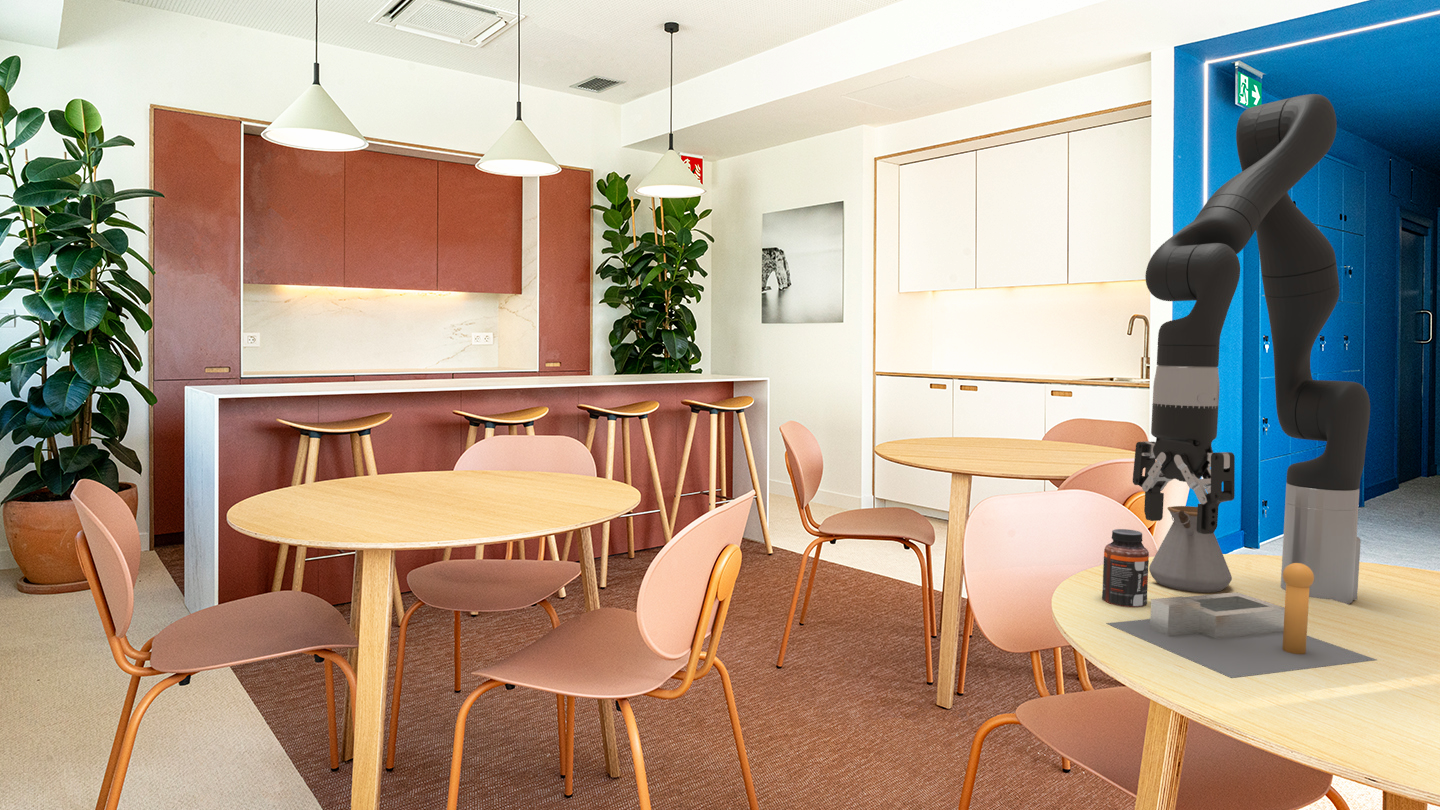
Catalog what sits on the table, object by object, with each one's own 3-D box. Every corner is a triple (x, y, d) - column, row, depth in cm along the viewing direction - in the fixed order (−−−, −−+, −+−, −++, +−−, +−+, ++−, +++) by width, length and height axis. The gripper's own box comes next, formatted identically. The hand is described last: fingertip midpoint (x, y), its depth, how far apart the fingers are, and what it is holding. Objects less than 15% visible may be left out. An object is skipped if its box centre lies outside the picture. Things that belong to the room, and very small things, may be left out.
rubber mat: (1235, 617, 124) (1235, 610, 124) (1376, 667, 105) (1377, 659, 105) (1105, 630, 118) (1105, 623, 118) (1231, 686, 99) (1231, 677, 99)
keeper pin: (1292, 645, 110) (1297, 559, 109) (1316, 654, 107) (1321, 565, 106) (1272, 647, 109) (1277, 561, 108) (1295, 656, 106) (1300, 567, 105)
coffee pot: (1154, 576, 146) (1158, 487, 145) (1233, 588, 140) (1238, 494, 139) (1131, 607, 128) (1136, 506, 127) (1221, 622, 122) (1227, 515, 121)
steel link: (1235, 613, 123) (1237, 585, 123) (1287, 631, 115) (1289, 601, 115) (1135, 623, 118) (1137, 593, 118) (1182, 642, 110) (1184, 611, 110)
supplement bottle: (1151, 615, 125) (1155, 536, 124) (1106, 612, 126) (1110, 534, 125) (1140, 603, 131) (1143, 528, 130) (1097, 600, 132) (1100, 526, 131)
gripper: (1256, 405, 107) (1248, 537, 108) (1166, 398, 121) (1160, 515, 122) (1206, 405, 105) (1199, 539, 106) (1121, 398, 119) (1115, 517, 120)
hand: (1178, 526), depth 114 cm, fingers open, 8 cm apart
